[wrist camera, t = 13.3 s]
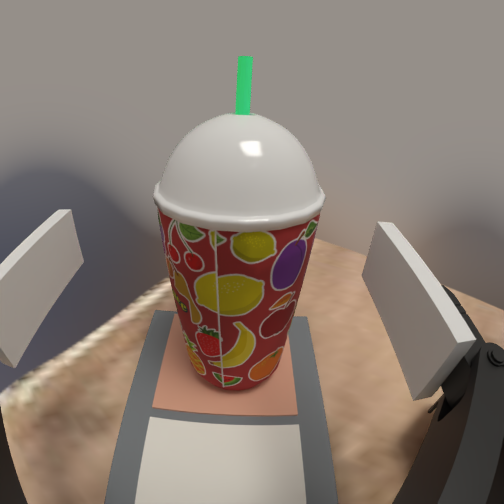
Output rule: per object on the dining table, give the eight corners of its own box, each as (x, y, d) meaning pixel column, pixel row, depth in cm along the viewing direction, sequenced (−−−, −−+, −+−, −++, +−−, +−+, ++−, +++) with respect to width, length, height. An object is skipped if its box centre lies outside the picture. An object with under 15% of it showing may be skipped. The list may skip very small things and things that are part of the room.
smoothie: (190, 319, 25) (179, 65, 14) (286, 325, 25) (320, 71, 14) (170, 400, 18) (114, 53, 7) (291, 409, 18) (369, 60, 7)
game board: (305, 322, 27) (307, 314, 26) (339, 553, 9) (344, 554, 8) (156, 316, 26) (154, 308, 26) (103, 539, 8) (97, 538, 8)
